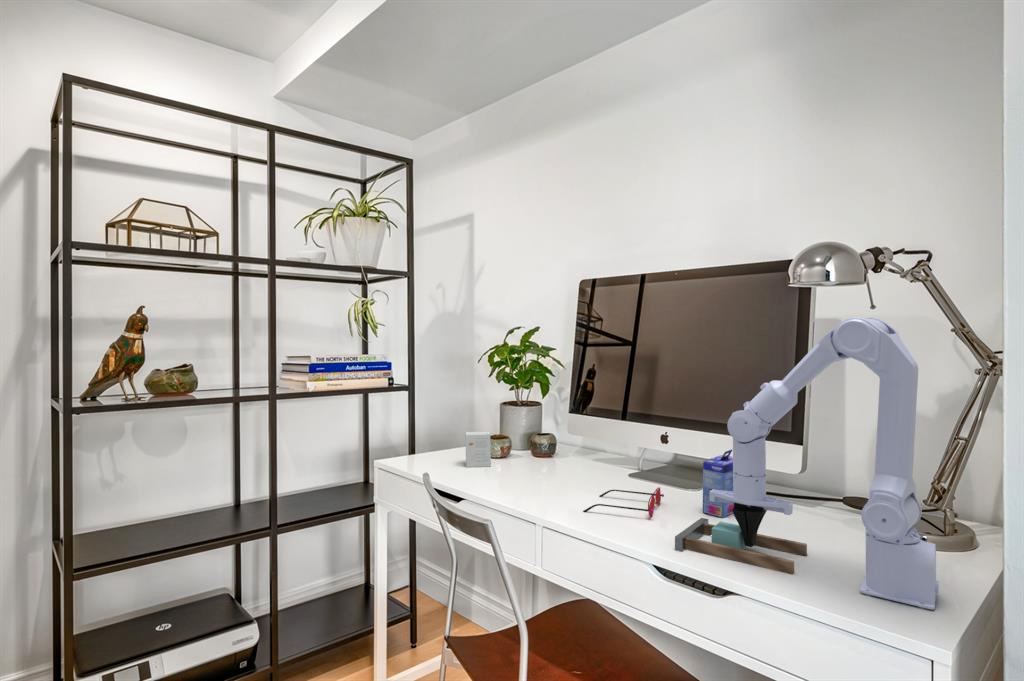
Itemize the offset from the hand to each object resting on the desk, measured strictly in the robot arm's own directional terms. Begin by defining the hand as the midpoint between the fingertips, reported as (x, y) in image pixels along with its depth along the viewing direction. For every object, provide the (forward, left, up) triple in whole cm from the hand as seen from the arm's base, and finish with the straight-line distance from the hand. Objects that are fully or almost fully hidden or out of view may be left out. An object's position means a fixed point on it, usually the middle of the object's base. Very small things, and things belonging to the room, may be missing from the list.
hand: (749, 545), depth 106 cm
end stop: (+11, 0, -1) cm, 11 cm away
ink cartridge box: (+12, -22, -2) cm, 25 cm away
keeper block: (+4, 0, -1) cm, 4 cm away
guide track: (+1, 0, -1) cm, 2 cm away
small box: (+90, -23, -2) cm, 93 cm away
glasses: (+32, -11, -2) cm, 34 cm away
